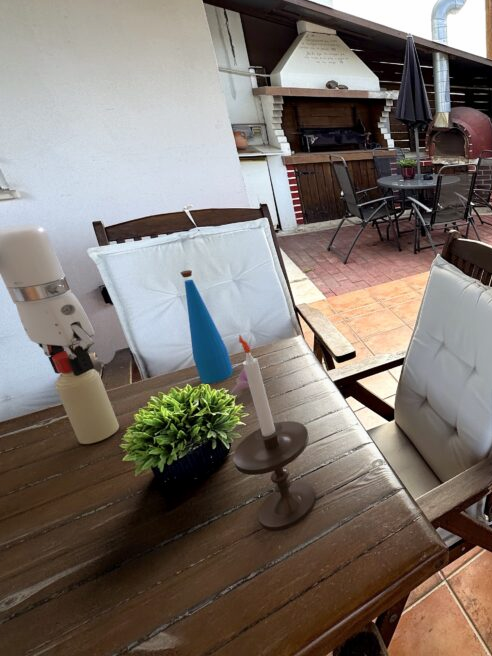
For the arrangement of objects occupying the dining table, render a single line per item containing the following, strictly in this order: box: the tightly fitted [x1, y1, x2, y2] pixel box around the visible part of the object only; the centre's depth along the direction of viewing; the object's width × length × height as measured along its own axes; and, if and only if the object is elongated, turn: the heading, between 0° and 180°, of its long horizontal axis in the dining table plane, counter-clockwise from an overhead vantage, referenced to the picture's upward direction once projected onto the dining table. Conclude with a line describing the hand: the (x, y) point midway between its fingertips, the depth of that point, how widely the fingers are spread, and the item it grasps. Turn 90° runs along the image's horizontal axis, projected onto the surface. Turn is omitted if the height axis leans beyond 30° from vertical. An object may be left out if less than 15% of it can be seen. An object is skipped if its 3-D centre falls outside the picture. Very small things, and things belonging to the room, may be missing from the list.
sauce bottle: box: [54, 368, 120, 445], centre depth 85 cm, size 6×6×20 cm
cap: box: [52, 348, 75, 374], centre depth 82 cm, size 4×4×3 cm
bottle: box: [180, 269, 234, 384], centre depth 104 cm, size 7×7×30 cm
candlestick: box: [232, 334, 317, 532], centre depth 66 cm, size 11×11×35 cm
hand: (75, 370), depth 83 cm, fingers closed on cap, 4 cm apart
